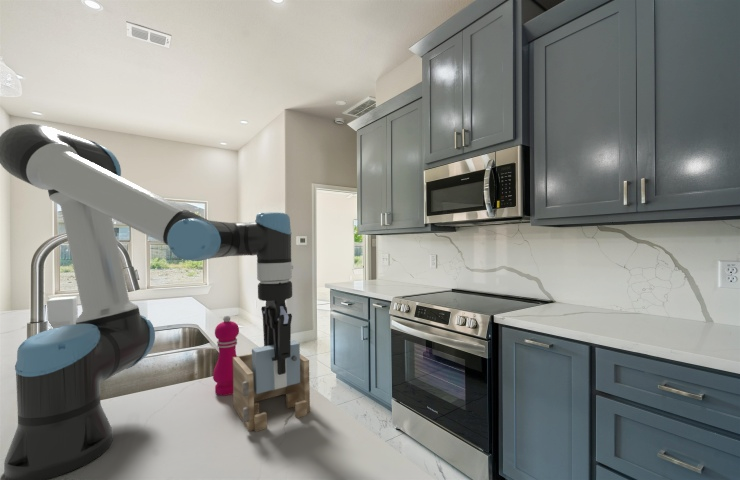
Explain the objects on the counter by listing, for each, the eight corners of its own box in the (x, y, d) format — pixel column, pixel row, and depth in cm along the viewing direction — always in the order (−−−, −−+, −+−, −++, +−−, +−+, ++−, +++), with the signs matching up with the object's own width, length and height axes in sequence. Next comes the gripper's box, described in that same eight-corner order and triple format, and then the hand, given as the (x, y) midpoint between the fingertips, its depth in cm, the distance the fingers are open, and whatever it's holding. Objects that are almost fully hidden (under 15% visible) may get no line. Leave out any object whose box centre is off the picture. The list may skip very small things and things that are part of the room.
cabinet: (245, 434, 71) (244, 376, 71) (229, 407, 83) (228, 357, 83) (311, 413, 80) (310, 361, 80) (289, 391, 91) (288, 346, 91)
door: (257, 395, 74) (256, 353, 74) (252, 389, 77) (251, 348, 77) (301, 383, 79) (300, 344, 79) (295, 378, 82) (294, 340, 82)
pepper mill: (232, 397, 88) (230, 319, 88) (207, 395, 90) (205, 318, 90) (247, 385, 95) (246, 313, 95) (224, 383, 97) (223, 312, 97)
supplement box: (78, 327, 164) (78, 295, 163) (74, 331, 156) (73, 298, 156) (53, 329, 159) (52, 297, 159) (47, 334, 151) (46, 300, 151)
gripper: (305, 283, 74) (307, 392, 74) (278, 276, 87) (281, 369, 87) (270, 286, 69) (273, 402, 70) (248, 279, 83) (250, 377, 83)
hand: (277, 384), depth 78 cm, fingers closed on door, 3 cm apart
